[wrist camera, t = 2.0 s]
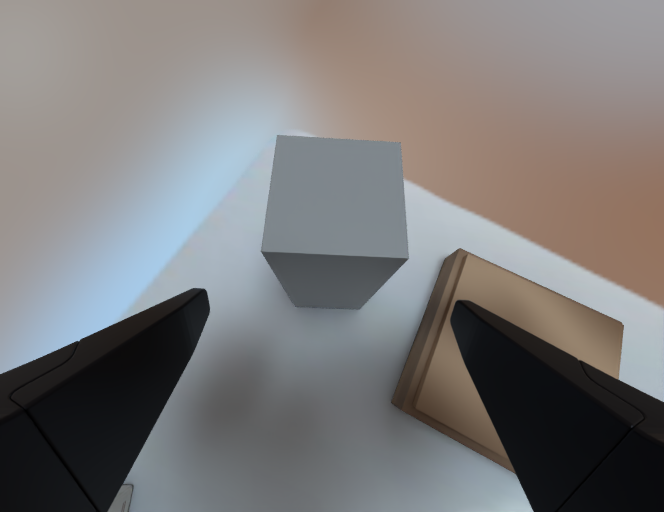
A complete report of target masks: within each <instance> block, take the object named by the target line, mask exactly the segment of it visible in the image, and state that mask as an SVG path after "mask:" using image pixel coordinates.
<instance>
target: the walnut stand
mask: <svg viewBox="0 0 664 512" xmlns="http://www.w3.org/2000/svg"><path fill="white" fill-rule="evenodd" d="M457 300H470V301H472V302H474V303H475V304H477V305H479V306H481V307H483V308H485V309H487V310H488V311H490V312H492V313H494V314H496V315H498V316H500V317H502V318H503V319H505V320H507V321H509V322H511V323H513V324H515V325H516V326H518V327H520V328H522V329H524V330H526V331H528V332H530V333H531V334H533V335H535V336H537V337H539V338H541V339H543V340H544V341H546V342H548V343H550V344H552V345H554V346H556V347H557V348H559V349H561V350H563V351H565V352H567V353H569V354H571V355H572V356H574V357H576V358H578V360H582V361H584V362H586V363H587V364H589V365H591V366H593V367H595V368H597V369H599V370H601V371H603V372H604V373H606V374H608V375H610V376H612V377H614V378H616V379H619V369H620V359H621V349H622V339H623V329H624V325H622V322H620V321H617V320H615V319H613V318H611V317H609V316H607V315H604V314H602V313H600V312H598V311H596V310H593V309H591V308H589V307H587V306H585V305H583V304H580V303H578V302H576V301H574V300H572V299H570V298H567V297H565V296H563V295H561V294H559V293H556V292H554V291H552V290H550V289H548V288H546V287H543V286H541V285H539V284H537V283H535V282H532V281H530V280H528V279H526V278H524V277H522V276H519V275H517V274H515V273H513V272H511V271H508V270H506V269H504V268H502V267H500V266H498V265H495V264H493V263H491V262H489V261H487V260H485V259H482V258H480V257H478V256H476V255H474V254H471V253H469V252H467V251H465V250H463V249H461V248H459V249H458V250H456V251H455V252H454V253H452V254H451V255H449V256H448V257H447V258H445V260H444V263H443V266H442V268H441V271H440V274H439V276H438V279H437V282H436V284H435V287H434V290H433V292H432V295H431V298H430V300H429V303H428V306H427V308H426V311H425V314H424V316H423V319H422V322H421V324H420V327H419V330H418V332H417V335H416V338H415V340H414V343H413V346H412V348H411V351H410V354H409V356H408V359H407V362H406V364H405V367H404V370H403V372H402V375H401V378H400V380H399V383H398V386H397V388H396V391H395V394H394V396H393V399H392V402H391V403H392V404H394V405H395V406H396V407H398V408H399V409H400V410H402V411H404V412H405V413H407V414H409V415H411V416H413V417H414V418H416V419H418V420H420V421H422V422H423V423H425V424H427V425H429V426H431V427H432V428H434V429H436V430H438V431H440V432H441V433H443V434H445V435H447V436H449V437H450V438H452V439H454V440H456V441H458V442H459V443H461V444H463V445H465V446H467V447H468V448H470V449H472V450H474V451H476V452H477V453H479V454H481V455H483V456H485V457H486V458H488V459H490V460H492V461H494V462H495V463H497V464H499V465H501V466H503V467H504V468H506V469H508V470H510V471H512V472H513V473H515V471H514V469H513V467H512V464H511V462H510V460H509V458H508V456H507V454H506V452H505V449H504V447H503V445H502V443H501V441H500V439H499V437H498V434H497V432H496V430H495V428H494V426H493V424H492V422H491V419H490V417H489V415H488V413H487V411H486V409H485V407H484V405H483V402H482V400H481V398H480V396H479V394H478V392H477V390H476V387H475V385H474V383H473V381H472V379H471V377H470V375H469V372H468V370H467V368H466V366H465V364H464V361H463V359H462V356H461V353H460V350H459V347H458V344H457V342H456V339H455V336H454V333H453V330H452V327H451V324H450V317H451V314H452V311H453V308H454V304H455V302H456V301H457ZM515 474H516V473H515Z"/></svg>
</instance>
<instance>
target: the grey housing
mask: <svg viewBox="0 0 664 512" xmlns="http://www.w3.org/2000/svg"><path fill="white" fill-rule="evenodd" d="M261 252H262V254H263V256H264V257H265V259H266V260H267V262H268V264H269V265H270V267H271V269H272V270H273V272H274V273H275V275H276V277H277V278H278V280H279V282H280V283H281V285H282V286H283V288H284V290H285V291H286V293H287V295H288V296H289V298H290V299H291V301H292V303H293V304H294V306H295V307H312V308H336V309H360V308H361V307H362V306H363V305H364V304H365V303H366V302H367V301H368V300H369V299H370V298H371V297H372V296H373V295H374V294H375V293H376V292H377V291H378V290H379V289H380V288H381V287H382V286H383V285H384V284H385V283H386V281H387V280H388V279H389V278H390V277H391V276H392V275H393V274H394V273H395V272H396V271H397V270H398V269H399V268H400V267H401V266H402V265H403V264H404V263H405V262H406V261H407V260H408V259H409V253H408V239H407V225H406V210H405V196H404V182H403V169H402V155H401V143H400V142H385V141H368V140H350V139H333V138H318V137H301V136H284V135H277V140H276V147H275V154H274V161H273V168H272V175H271V183H270V190H269V197H268V204H267V211H266V218H265V226H264V233H263V240H262V247H261Z"/></svg>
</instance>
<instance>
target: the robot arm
mask: <svg viewBox="0 0 664 512" xmlns="http://www.w3.org/2000/svg"><path fill="white" fill-rule="evenodd" d="M209 313H210V306H209V300H208V295H207V291H206V290H205V289H201V288H193V289H190V290H188V291H186V292H184V293H181V294H179V295H177V296H175V297H173V298H171V299H168V300H166V301H164V302H162V303H160V304H157V305H155V306H153V307H151V308H149V309H146V310H144V311H142V312H140V313H138V314H135V315H133V316H131V317H129V318H127V319H124V320H122V321H120V322H118V323H116V324H113V325H111V326H109V327H107V328H105V329H103V330H100V331H98V332H96V333H94V334H92V335H90V336H87V337H85V338H83V339H81V340H80V341H76V342H74V343H72V344H70V345H68V346H65V347H63V348H61V349H58V350H56V351H54V352H52V353H50V354H47V355H45V356H43V357H40V358H38V359H36V360H33V361H31V362H29V363H26V364H24V365H22V366H19V367H17V368H14V369H12V370H10V371H7V372H5V373H2V374H0V512H108V510H109V509H110V507H111V505H112V503H113V501H114V499H115V497H116V496H117V494H118V492H119V490H120V488H121V486H122V484H123V483H124V481H125V479H126V477H127V475H128V473H129V471H130V470H131V468H132V466H133V464H134V462H135V460H136V458H137V457H138V455H139V453H140V451H141V449H142V447H143V445H144V444H145V442H146V440H147V438H148V436H149V434H150V432H151V431H152V429H153V427H154V425H155V423H156V421H157V420H158V418H159V416H160V414H161V412H162V410H163V408H164V407H165V405H166V403H167V401H168V399H169V397H170V395H171V394H172V392H173V390H174V388H175V386H176V384H177V382H178V381H179V379H180V377H181V375H182V373H183V371H184V369H185V368H186V366H187V364H188V362H189V360H190V358H191V356H192V354H193V352H194V350H195V348H196V346H197V343H198V341H199V338H200V336H201V333H202V331H203V328H204V326H205V323H206V321H207V318H208V316H209ZM450 324H451V327H452V330H453V333H454V336H455V339H456V342H457V344H458V347H459V350H460V353H461V356H462V359H463V361H464V364H465V366H466V368H467V370H468V372H469V375H470V377H471V379H472V381H473V383H474V385H475V387H476V390H477V392H478V394H479V396H480V398H481V400H482V402H483V405H484V407H485V409H486V411H487V413H488V415H489V417H490V419H491V422H492V424H493V426H494V428H495V430H496V432H497V434H498V437H499V439H500V441H501V443H502V445H503V447H504V449H505V452H506V454H507V456H508V458H509V460H510V462H511V464H512V467H513V469H514V471H515V473H516V475H517V477H518V479H519V481H520V484H521V486H522V488H523V490H524V492H525V494H526V496H527V499H528V501H529V503H530V505H531V507H532V509H533V511H534V512H664V402H662V401H660V400H658V399H656V398H654V397H652V396H650V395H648V394H646V393H644V392H642V391H640V390H638V389H636V388H634V387H632V386H630V385H628V384H626V383H624V382H622V381H620V380H618V379H616V378H614V377H612V376H610V375H608V374H606V373H604V372H603V371H601V370H599V369H597V368H595V367H593V366H591V365H589V364H587V363H586V362H584V361H582V360H578V358H576V357H574V356H572V355H571V354H569V353H567V352H565V351H563V350H561V349H559V348H557V347H556V346H554V345H552V344H550V343H548V342H546V341H544V340H543V339H541V338H539V337H537V336H535V335H533V334H531V333H530V332H528V331H526V330H524V329H522V328H520V327H518V326H516V325H515V324H513V323H511V322H509V321H507V320H505V319H503V318H502V317H500V316H498V315H496V314H494V313H492V312H490V311H488V310H487V309H485V308H483V307H481V306H479V305H477V304H475V303H474V302H472V301H470V300H457V301H456V302H455V304H454V308H453V311H452V314H451V317H450Z"/></svg>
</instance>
